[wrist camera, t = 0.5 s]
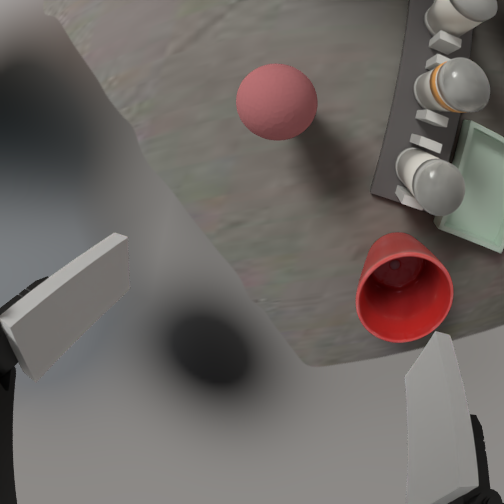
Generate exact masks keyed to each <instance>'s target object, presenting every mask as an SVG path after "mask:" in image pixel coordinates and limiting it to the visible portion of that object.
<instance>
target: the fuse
mask: <svg viewBox="0 0 504 504" xmlns="http://www.w3.org/2000/svg"><path fill="white" fill-rule="evenodd" d="M395 172H396V175H397V176H398V178H399V179H400V181H401V182H402V183H403V184H404V185H405V186H406V187H407V188H408V189H409V191H410V192H411V193H412V194H413V196H414V197H415V198H416V200H417V201H418V203H419V204H420V205H421V207H422V208H423V209H424V210H425V211H427V212H428V213H430V214H432V215H435V216H446V215H449V214H451V213H453V212H454V211H455V210H457V208H458V207H459V206H460V205H461V203H462V201H463V199H464V195H465V182H464V178H463V176H462V174H461V172H460V171H459V170H458V168H456V167H455V166H454V165H453V164H451V163H449V162H447V161H445V160H442V159H439V158H437V157H435V156H433V155H431V154H429V153H427V152H425V151H424V150H421V149H419V148H416V147H408V148H405V149H404V150H402V151H401V152H400V153H399V154H398V155H397V157H396V160H395Z"/></svg>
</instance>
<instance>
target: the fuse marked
mask: <svg viewBox="0 0 504 504" xmlns="http://www.w3.org/2000/svg"><path fill="white" fill-rule="evenodd" d="M413 96H414V98H415V100H416V102H417V103H418V105H419V106H420V107H422V108H423V109H425V110H426V109H428V110H430V111H433V112H455V113H466V112H477V111H480V110H481V109H483V108H484V107H485V106H486V105H487V103H488V101H489V97H490V85H489V81H488V79H487V77H486V75H485V73H484V71H483V70H482V69H481V68H480V67H479V66H478V65H477V64H476V63H475V62H473V61H471V60H469V59H467V58H461V57H460V58H454V59H451V60H449V61H446V62H444V63H442V64H440V65H438V66H437V67H435V68H434V69H433V70H431V71H429V72H426V73H424V74H422V75H420V76H418V77H417V78H416V80H415V81H414V83H413Z"/></svg>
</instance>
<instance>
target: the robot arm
mask: <svg viewBox="0 0 504 504" xmlns="http://www.w3.org/2000/svg"><path fill="white" fill-rule="evenodd" d="M129 290H130V273H129V252H128V237H126V236H123V235H120V234H117V233H113V234H112V235H110V236H109V237H107V238H105V239H104V240H103V241H101V242H99V243H98V244H96V245H95V246H93V247H92V248H91V249H89V250H88V251H86V252H85V253H83V254H82V255H80V256H79V257H77V258H76V259H74V260H73V261H72V262H70V263H69V264H67V265H66V266H64V267H63V268H62V269H60V270H59V271H57V272H56V273H55V274H53V275H52V276H50V277H45V278H42V279H39V280H37V281H35V282H34V283H32V284H31V285H30V286H29V287H27V288H26V290H25V289H24V290H23V291H22V292H21V293H19V295H16V296H15V297H14V298H12V299H11V300H10V301H9V302H7V303H6V304H5V305H3V306H2V307H1V308H0V504H17V499H16V491H15V481H14V468H13V445H12V444H13V440H12V439H13V431H12V430H13V401H14V389H15V378H16V368H15V367H14V366H15V365H16V364H17V363H18V362H19V364H20V366H21V368H22V370H23V372H24V373H25V374H26V375H27V376H29V377H30V378H31V379H33V380H34V381H35V382H37V381H38V380H39V379H40V378H41V377H42V376H43V375H44V374H45V372H46V371H47V370H48V369H49V368H50V367H51V366H52V365H53V364H54V363H55V362H56V361H57V360H58V359H59V358H60V357H61V356H62V355H63V354H64V353H65V352H66V351H67V350H68V349H69V348H70V347H71V346H72V345H73V344H74V343H75V342H76V341H77V340H78V339H79V338H80V337H81V336H82V335H83V334H84V333H85V332H86V331H87V330H88V329H89V328H90V327H91V326H92V325H93V324H94V323H95V322H96V321H97V320H98V319H99V318H100V317H101V316H102V315H103V314H104V313H105V312H106V311H107V310H108V309H109V308H111V307H112V306H113V305H114V304H115V303H116V302H117V301H118V300H119V299H120V298H121V297H122V296H123V295H124V294H125V293H126V292H127V291H129ZM405 390H406V406H407V433H408V466H407V491H406V504H504V503H502V500H501V497H500V495H499V494H498V492H496V491H495V490H492V489H490V483H489V473H488V464H487V456H486V451H485V442H484V441H483V440H484V436H483V430H482V426H481V424H480V422H479V420H478V418H477V416H476V415H471V414H470V413H469V408H468V403H467V398H466V393H465V389H464V385H463V380H462V377H461V373H460V368H459V364H458V361H457V357H456V353H455V350H454V347H453V343H452V340H451V336H450V335H448V334H445V333H441V332H437V331H435V332H434V334H433V335H432V337H431V339H430V340H429V342H428V343H427V345H426V346H425V348H424V349H423V351H422V352H421V354H420V355H419V357H418V358H417V360H416V361H415V362H414V364H413V365H412V367H411V368H410V369H409V371H408V372H407V373H406V375H405Z"/></svg>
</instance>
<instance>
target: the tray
mask: <svg viewBox="0 0 504 504" xmlns="http://www.w3.org/2000/svg"><path fill="white" fill-rule="evenodd" d="M452 164H453V165H454V166H455V167H456V168H458V170H459V171H460V172H461V174H462V176H463V178H464V182H465V195H464V199H463V201H462V203H461V205H460V206H459V207H458V208H457V210H455V211H454V212H453V213H451V214H449V215H446V216H435V218H434V220H433V223H434V224H435V225H436V227H437V228H438V229H440V230H442V231H445V232H448V233H451V234H453V235H456V236H458V237H461V238H464V239H466V240H469V241H471V242H474V243H476V244H479V245H481V246H484V247H486V248H489V249H491V250H494V251H496V252H498V253H502V250H503V248H504V137H502V136H501V135H499V134H497V133H495V132H493V131H491V130H489V129H487V128H485V127H483V126H481V125H479V124H477V123H475V122H473V121H471V120H463V122H462V127H461V131H460V135H459V139H458V143H457V147H456V151H455V155H454V158H453V162H452Z"/></svg>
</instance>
